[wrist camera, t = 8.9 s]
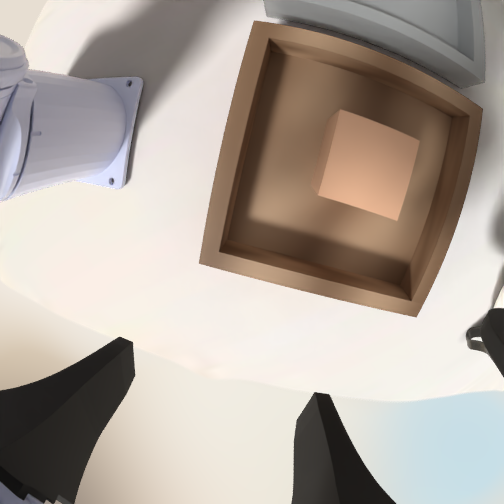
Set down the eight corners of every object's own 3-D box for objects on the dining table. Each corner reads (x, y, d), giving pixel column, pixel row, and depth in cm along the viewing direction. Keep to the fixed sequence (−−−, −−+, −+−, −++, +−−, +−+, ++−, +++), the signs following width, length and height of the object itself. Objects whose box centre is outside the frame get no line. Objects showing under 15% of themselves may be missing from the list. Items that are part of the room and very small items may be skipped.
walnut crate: (212, 245, 18) (199, 263, 15) (259, 40, 13) (254, 20, 10) (401, 295, 18) (416, 317, 15) (458, 112, 13) (482, 108, 10)
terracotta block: (310, 184, 15) (317, 195, 12) (327, 119, 14) (340, 109, 10) (373, 204, 15) (397, 220, 11) (390, 142, 14) (419, 140, 10)
